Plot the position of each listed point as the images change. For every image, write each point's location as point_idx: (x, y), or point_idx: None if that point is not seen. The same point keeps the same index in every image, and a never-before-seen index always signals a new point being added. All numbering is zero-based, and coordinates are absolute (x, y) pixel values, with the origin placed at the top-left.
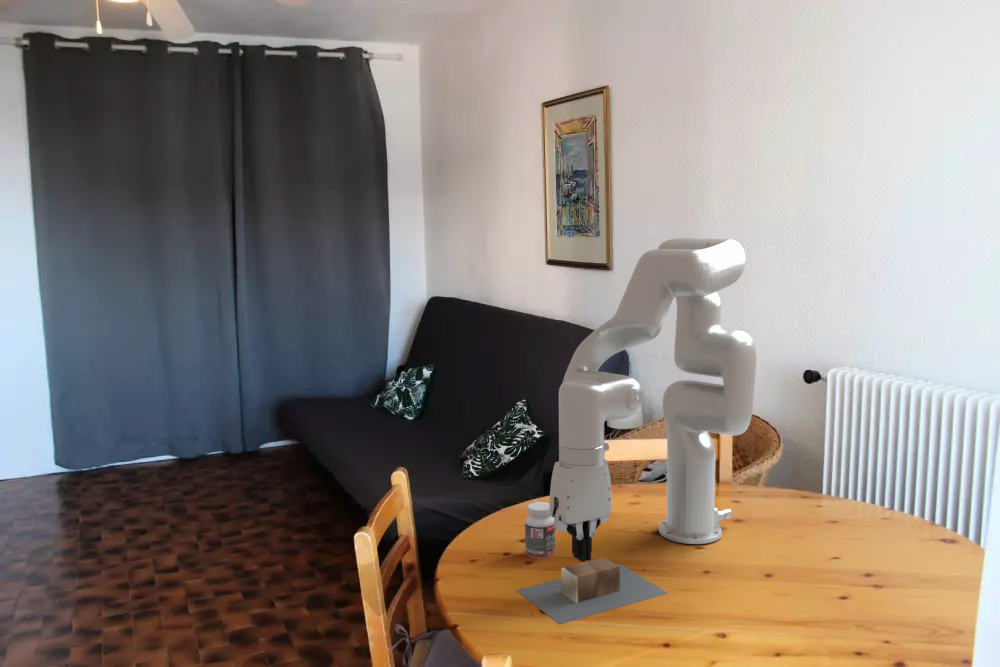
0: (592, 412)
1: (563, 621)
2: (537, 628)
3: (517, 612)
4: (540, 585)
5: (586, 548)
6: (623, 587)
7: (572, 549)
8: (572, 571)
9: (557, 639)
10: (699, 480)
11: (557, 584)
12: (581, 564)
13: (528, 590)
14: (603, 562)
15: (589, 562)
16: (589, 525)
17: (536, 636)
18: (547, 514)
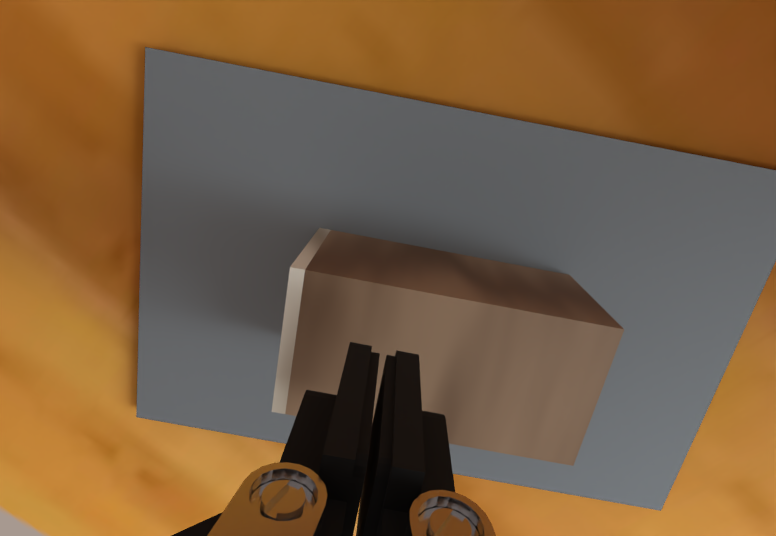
0: None
1: (162, 413)
2: (70, 361)
3: (63, 211)
4: (286, 91)
5: (358, 518)
6: None
7: (302, 406)
8: (311, 346)
9: (93, 455)
10: None
11: (364, 145)
12: (425, 313)
13: (198, 95)
14: (550, 377)
15: (486, 324)
16: None
17: (37, 398)
18: None
